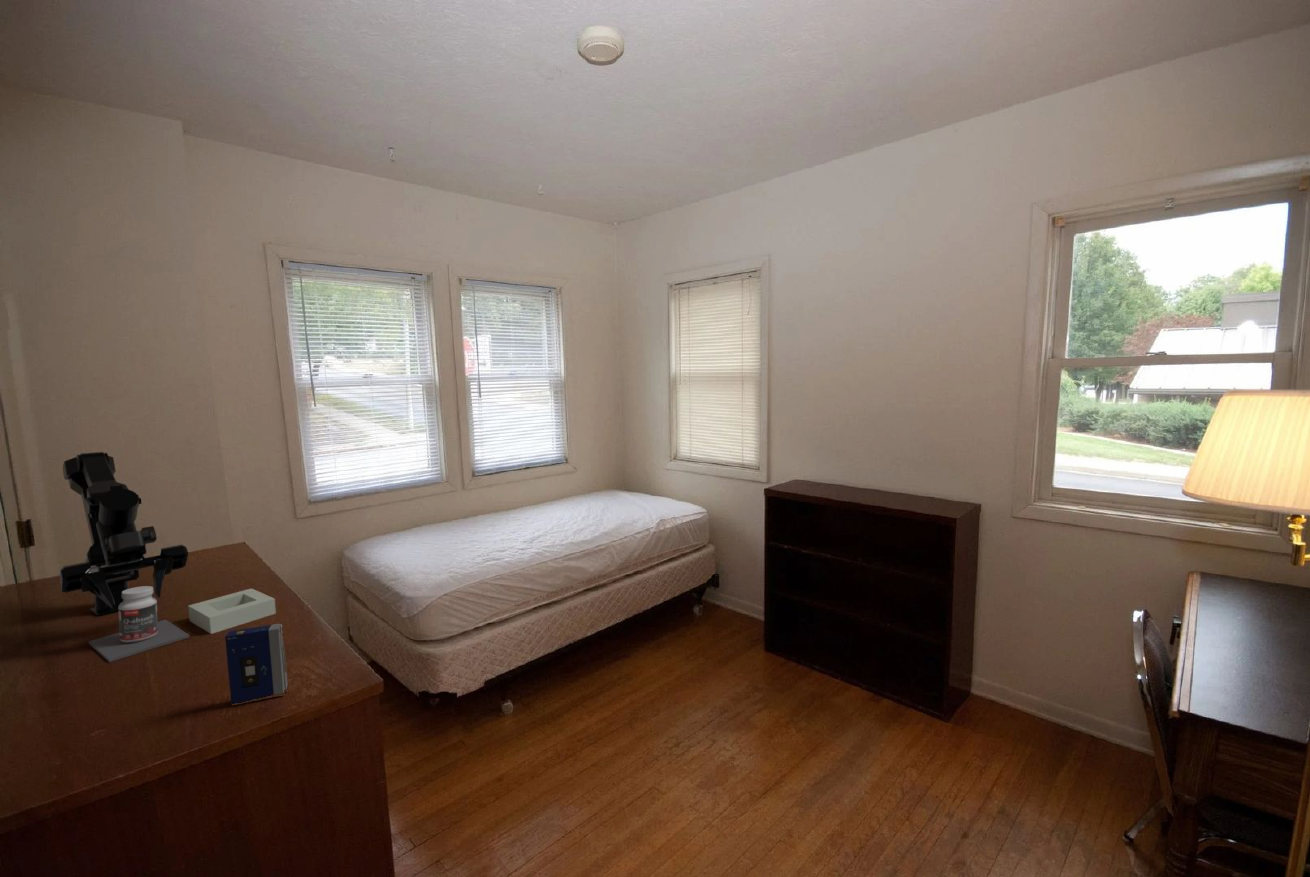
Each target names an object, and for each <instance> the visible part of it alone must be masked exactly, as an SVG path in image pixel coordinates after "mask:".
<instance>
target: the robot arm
mask: <svg viewBox="0 0 1310 877" xmlns="http://www.w3.org/2000/svg"><path fill="white" fill-rule="evenodd" d="M115 465H116V464H115V460H114V457H113V456H110V455H109V454H108V452H103V451H99V452H86V453H85V452H83V453H80V454H77V455H76V456H75V457H73V458H70V459H67V460H64V461H63V465H62V474H63V478H64V480H65V481H66V480H68V484H69V488H70V489H71V490H72V491H74V492H75V493H77V494H78V495H80V496H81V499H82V504H83V508H84V512H85V517H86V523H87V528H88V531H89V537H90V541H91V546H90V547H89V549H88V550H87V553H86V559H85V560H86V561H85V562H79V563H75V564H74V563H73V564H69V565H64V566H63V567H62V568H61V569H60V570H59V583H60V590H61V592H62V593H70V592H76V591H81V592H82V593H85V592H89V593H91V594H93V595H94V596H93V597H94V604H95V605H94V606H93V607H90V611H91V612H93V613H94V614H95V615H97V616H98V617H99V616H104V615H107V614H111V613H114V612H118V607H119V605H120V603H122V602H123V599H122V598H121V597H122V591H124V590H127V589H130V587H129V582H130V581H137V580H138V578H140V572H139V570H140V569H146V568H151V567H153V574H152V581H153V586H154V587H153V588H154V592H155V596H156V599H157V598H161V595H162V594H161V593H162V587H163V582H164V578H165V576H166V575H170V574H171V573H172V571H175V570H178V569H183V568H184V567H186V564H187V560H188V556H189V551H188V547H187V546H185V545H184V544H178V545H173V546H167V547H161V548H160V549H161V550H160V554H158V555H154V556H148V557H145V555H147V548H146V545H147V544H152V543H155V542H156V541H157V539H158V538H157V533H156V530H155V527H154V526H145V527H141V530H137V527H136V523H135V521H136V519H137V517H138V510H139V505H142V498H141V497H139V494H137V493H136V492H135V491H134V490H131V489H129V488H128V486H127V485H126V484H125V483H121V482H117V480H116V478H115V476H114V474H115V473H116V472H117V471H116V466H115Z"/></svg>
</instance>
